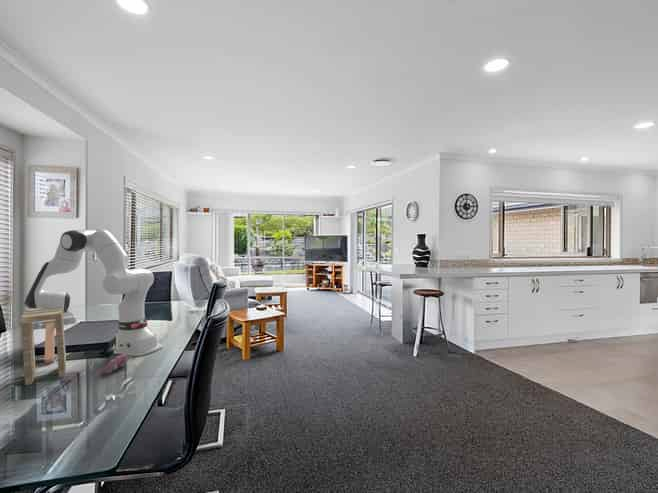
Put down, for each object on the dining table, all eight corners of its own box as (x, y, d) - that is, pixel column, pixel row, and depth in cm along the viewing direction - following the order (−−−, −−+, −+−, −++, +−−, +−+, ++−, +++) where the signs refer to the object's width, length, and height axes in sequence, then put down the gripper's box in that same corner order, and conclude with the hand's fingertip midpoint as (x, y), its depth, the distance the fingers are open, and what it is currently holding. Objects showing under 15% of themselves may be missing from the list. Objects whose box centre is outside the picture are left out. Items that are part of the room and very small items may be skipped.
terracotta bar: (46, 328, 161) (45, 324, 160) (54, 327, 163) (53, 322, 162) (45, 364, 147) (44, 359, 146) (54, 362, 149) (53, 358, 148)
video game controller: (108, 378, 135) (114, 363, 135) (99, 372, 136) (105, 358, 135) (127, 368, 145) (132, 354, 144) (118, 362, 146) (124, 349, 145)
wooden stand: (29, 372, 139) (25, 310, 137) (66, 364, 146) (62, 306, 145) (24, 386, 126) (20, 318, 125) (65, 377, 133) (61, 313, 132)
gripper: (23, 317, 163) (19, 323, 152) (75, 310, 176) (75, 315, 165) (24, 330, 164) (20, 337, 153) (76, 322, 176) (76, 328, 165)
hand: (49, 326), depth 159 cm, fingers open, 4 cm apart
